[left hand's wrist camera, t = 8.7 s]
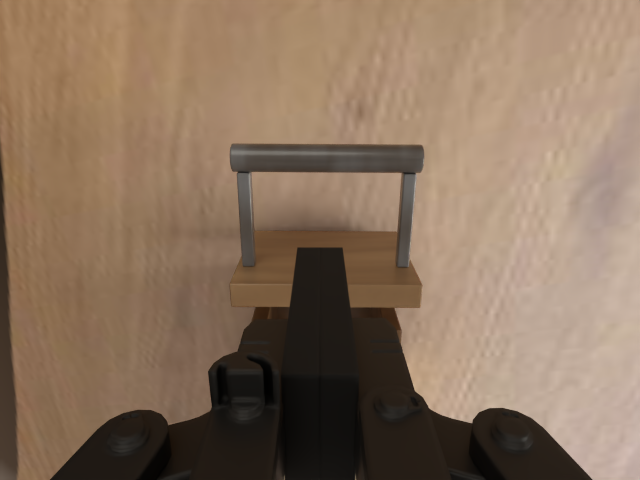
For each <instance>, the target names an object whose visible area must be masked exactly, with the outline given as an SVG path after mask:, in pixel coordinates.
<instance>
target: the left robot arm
mask: <svg viewBox="0 0 640 480" xmlns="http://www.w3.org/2000/svg"><path fill="white" fill-rule="evenodd" d="M208 375H209V384H210V393H211V403H212V408H211V411H209V412H208V413H206V414H204V415H202V416H200V417H197V418H194V419H191V420H188V421H184V422H180V423H176V424H172V425H168V423H167V421H166V420H165V418H164V417H163V416H162V415H161V414H159V413H157V412H154V411H152V410H135V411H131V412H126V413H123V414H121V415H119V416H116V417H114V418H112V419H110V420H109V421H107V422H106V423H105V424H104V425H102V426H101V427H100V428H99V429H97V431H96V432H95V433H94V434H93V435H92V436H91V437H90V438H89V439H88V440H87V441H86V442H85V443H84V444H83V445H82V446H81V447H80V449H79V450H78V451H77V452H76V453H75V454H74V455H73V456H72V457H71V458H70V459H69V460H68V461H67V462H66V463H65V464H64V465H63V467H62V468H61V469H60V470H59V471H58V472H57V473H56V474H55V475H54V476H53V477H52V478H51V479H50V480H284V475H285V480H355V473H356V480H592V479H591V478H590V477H589V475H588V474H587V473H586V472H585V471H584V470H583V469H582V468H581V467H580V466H579V465H578V464H577V463H576V462H575V461H574V460H573V459H572V458H571V457H570V455H569V454H568V453H567V452H566V451H565V450H564V449H563V448H562V447H561V446H560V445H559V444H558V443H557V442H556V441H555V440H554V439H553V438H552V437H551V436H550V434H549V433H548V432H547V431H546V430H545V429H544V428H543V427H542V426H540V425H539V424H538V423H537V422H535V421H534V420H533V419H532V418H530V417H528V416H526V415H524V414H522V413H519V412H517V411H513V410H509V409H505V408H489V409H487V410H484V411H482V412H479V413H478V414H477V416H476V417H475V418H474V419H473V423H468V422H463V421H459V420H455V419H451V418H448V417H445V416H442V415H440V414H438V413H436V412H434V411H432V410H430V409H429V408H428V405H427V404H426V402H425V400H424V399H423V397H422V396H420V395H419V394H418V393H416V392H415V390H414V387H413V384H412V380H411V377H410V374H409V370H408V367H407V364H406V360H405V357H404V354H403V350H402V347H401V343H400V340H399V337H398V333H397V330H396V328H395V327H394V326H393V325H392V324H391V323H390V322H389V321H388V320H387V319H386V318H352V315H351V308H350V300H349V292H348V285H347V277H346V269H345V262H344V254H343V247H297V254H296V262H295V269H294V277H293V285H292V292H291V300H290V308H289V315H288V319H255V320H254V321H253V322H251V323H250V324H249V325H248V326H247V327H246V328H245V329H244V332H243V335H242V339H241V344H240V345H239V349H238V352H234V353H232V354H229V355H226V356H223V357H222V358H220V359H219V360H218V361H216V362H215V363H214V364H213V365H212V367H211V368H210V369H209V371H208Z"/></svg>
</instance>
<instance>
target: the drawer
mask: <svg viewBox="0 0 640 480" xmlns="http://www.w3.org/2000/svg"><path fill="white" fill-rule="evenodd" d="M230 165H231V169H232V171H233V172H238V173H237V186H238V202H239V218H240V234H241V251H242V257H241V259H240V261H239V264H238V266H237V268H236V271H235V273H234V275H233V278H232V280H231V282H230V297H231V306H232V307H255V311H254V314H253V318H252V322H253V321H254V320H255V319H288V315H289V308H290V300H291V292H292V285H293V277H294V269H295V262H296V254H297V247H343V254H344V262H345V269H346V277H347V285H348V292H349V300H350V308H351V315H352V318H386V319H387V320H388V321H389V322H390V323H391V324H392V325H393V326H394V327H395V328H396V330H397V333H398V337H399V340H400V343H401V334H402V330H401V327H400V324H399V321H398V318H397V314H396V311H395V308H420V306H421V297H422V287H423V285H422V283H421V281H420V279H419V277H418V275H417V273H416V271H415V269H414V267H413V265H412V263H411V260H410V247H411V235H412V223H413V212H414V200H415V188H416V176H417V175H416V173H420V172H421V171H422V169H423V165H424V149H423V146H422V145H372V144H232V145H231V148H230ZM251 172H349V173H402V176H401V190H400V204H399V217H398V231H397V232H360V231H254V214H253V194H252V174H251Z"/></svg>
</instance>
